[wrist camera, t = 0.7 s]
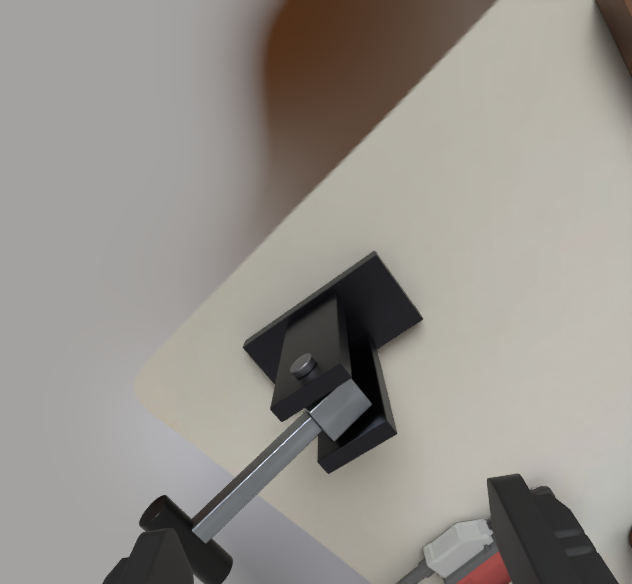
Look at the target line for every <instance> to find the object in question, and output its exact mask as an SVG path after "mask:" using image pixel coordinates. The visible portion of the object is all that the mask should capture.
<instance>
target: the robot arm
mask: <svg viewBox="0 0 632 584" xmlns="http://www.w3.org/2000/svg"><path fill="white" fill-rule="evenodd" d="M487 487H488V496H489V505H490V513H491V522H492V528H493V533H494V537H495V540H496V544H497V547H498V550H499V552H500V555H501V557H502V560H503V562H504V564H505V567H506V569H507V572H508V574H509V576H510V579H511V581H512V584H619V583H618V582H617V580H616V579H615V577H614V576H613V574H612V573H611V571H610V570H609V568H608V567H607V565H606V564H605V562H604V560H603V559H602V557H601V556H600V554H599V553H597V551H596V548H595V547H594V545H593V544H592V542H591V541H590V539H589V538H588V536H587V535H585V533H584V530H583V528H582V527H581V525H580V524H579V522H578V521H577V519H576V518H575V516H574V515H573V513H572V512H571V510H570V509H569V508H567V507H566V506H565V505H564V504H562V503H561V502H560V501H558V500H557V499H556V498H555V497H553V496H552V495H551V494H550V493H549V494H542V495H536V496H533V495H532V493H531V492H530V490H529V488H528V486H527V485H526V483H525V481H524V480H523V478H522V476H521V475H520V474H512V475H506V476H499V477H493V478H488V479H487ZM103 584H194V579H193V572H192V568H191V566H190V563H189V561H188V559H187V556H186V554H185V552H184V549H183V547H182V545H181V542H180V540H179V537H178V535H177V533H176V531H175V530H174V529H173V528H166V529H160V530H154V531H147V532H143V533H142V534H141V535H140V536H139V537H138V539H137V541H136V543H135V546H134V548H133V550H132V552H131V554H130V557H128V558H122V559H121V560H120V561H119V563H118V564H117V565H116V566H115V567H114V569H113V570H112V571H111V572H110V573H109V574H108V576H107V577H106V578H105V580H104V582H103Z"/></svg>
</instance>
